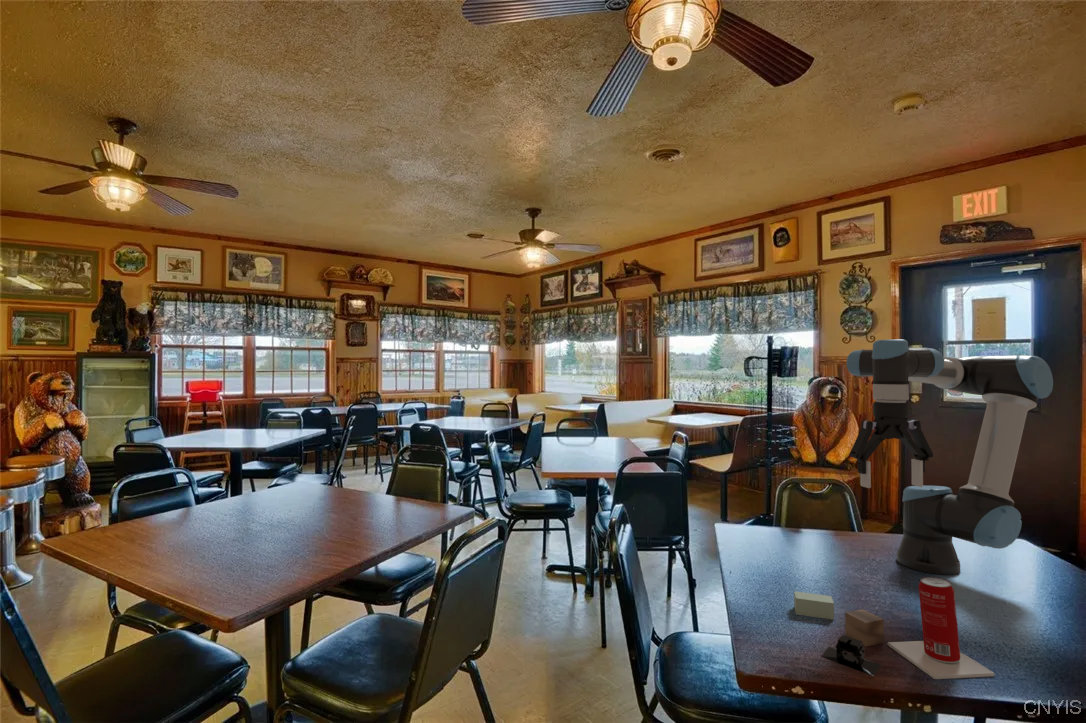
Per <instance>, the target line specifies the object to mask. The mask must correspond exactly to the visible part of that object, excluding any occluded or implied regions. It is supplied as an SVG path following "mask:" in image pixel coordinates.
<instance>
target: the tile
mask: <svg viewBox="0 0 1086 723" xmlns="http://www.w3.org/2000/svg"><path fill="white" fill-rule="evenodd" d="M887 646H889V648H891V649H893V650H894V651H895V652H896V653H897V654H899V655H901V656H902V657H903V658H904V659H906V660H907V661H908V662H910V663H912V664H913V665H915V666H916V668H918V669H920V670H921V671H923V672H924V673H925V674H927V675H928V676H929V677H931V678H932V679H934V680H943V679H944V680H946V679H947V680H949V679H964V678H965V679H966V678H968V679H969V678H985V677H988V678H989V677H995V672H993V671H992V670H990V668H987V667H986V666H984V665H983V664H981V663H979V662H977V661H976V660H974V659H973V658H971V657H969V656H967V655H966V654H965V653H963V652H961V651H960V660H959V661H958V662H956V663H944V662H939V661H936V660H934V659H932V658H930V657H929V656H928V655H927V654H926V653H925V651H924V640H914V641H911V640H910V641H891V642H890V641H888V642H887Z"/></svg>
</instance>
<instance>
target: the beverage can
mask: <svg viewBox="0 0 1086 723" xmlns="http://www.w3.org/2000/svg"><path fill="white" fill-rule="evenodd" d="M918 594H919V604H920V616H921V627H922V628H921V629H922V637H923V638H922V639H923V640H922V641H924V651H925V653H926V654H927V655H928V656H929V657H930V658H932V659H934V660H936V661H939V662H944V663H956V662H958V661H959V660H960V652H961V650H960V649H961V648H960V640H959V639H960V638H959V629H958V628H959V626H958V618H957V607H956V597H955V589H954V587H953V586H952V582H950V581H948V580H947V579H944V578H939V577H935V576H925V577H921V578H920V580H919V584H918Z"/></svg>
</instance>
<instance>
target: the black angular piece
mask: <svg viewBox="0 0 1086 723" xmlns="http://www.w3.org/2000/svg"><path fill="white" fill-rule="evenodd" d="M865 653H866V651H865V646H864V645H862V641H860V640H857V639H854V638H851V637H848V636H846V634H841V636H839V638H838V639H837V643H836V645H835V648H834V647H832V646H829V647H828V648H827V649H826V650H825V651H824V652H823V654H822V655H821V658H822V659H826V660H827V661H828V660H829V661H831V662H834V663H837V664H839V665H842V666H845V667H847V668H850V669H853V670H854V671H855V670H856V671H858V672H861V673H863V674H867V675H870V676H872V677H874V676H876V673H877V672H878V671H879V669H880V668H881V667H882V664H880V663H877V662H875V661H872V660H869V659H866V658H865Z"/></svg>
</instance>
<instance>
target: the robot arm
mask: <svg viewBox="0 0 1086 723" xmlns="http://www.w3.org/2000/svg"><path fill="white" fill-rule="evenodd" d="M846 368H847V370H848V372H849V373H850V374H851V375H852V376H856V377H872V399H873V400H875V401H873V403H872V415H873V417H874V420H873V421H870V420H865V419H864V420H861V423H860V424H861V426H860V430H859V432H858V435H857V437H856V440H855V441H854V443H853V445H852V447H851V450H850V452H849V454H848V455H849V457H850V458H853V459H855V460H857V473H858V474H860V482H859V483H860V486H861V487H863V488H867V489H872V482H871V481H872V479H871V478H872V477H871V476H872V474H871V473H872V470H871V469H872V468H871V466H872V464H871V463H872V462H871V461H870V460H869V458H870V457H871V456H872V455H873V454H874V452H875V451H876V450H877V448H878V447H879V446H880V444H881V443H882V442H884V441H885V440H886V439H887V440H892V439H896V440H900V442H901V443H902V444H903V445H904V446H905V447H906V448H907V450H908V451H909V452H910V453H911V454H912V457H913V458H911V461H910V463H911V486H910V485H909V486H906V487H905V488H904V489H903V491H902V493H903V495H902V499H901V500H902V518H903V519H902V524H903V525H902V527H903V529H902V531H903V534H902V535H903V536H902V538H901V540H900V544H899V546H898V548H897V550H896V561H897V562H898V563H899V564H900V565H903V566H905V567H907V568H910V569H913V570H916V571H919V572H924V573H929V574H934V575H935V574H936V575H956V574H959V573H960V572H961V561H960V559H959V558H958V554H957V551H956V548H955V546H954V543H953V538H956V539H959V540H963V541H966V542H969V543H973V544H976V545H978V546H980V547H988V548H992V549H998V550H999V549H1005V548H1007V547H1009V546H1010V545H1012V544H1013V543H1014V542H1015V541H1016V540H1017V538H1018V536H1019V535H1020V532H1021V530H1022V525H1023V524H1022V523H1023V522H1022V520H1021V519H1022V515H1021V512H1020V511H1019V510H1018V509H1017V508H1015V506H1014V505H1015V501H1014V500H1013V498H1012V497H1011V496H1010V495H1009V493H1010V488H1011V484H1012V480H1013V476H1014V471H1015V466H1016V464H1017V462H1016V461H1017V458H1018V456H1019V454H1018V453H1019V451H1020V450H1019V449H1020V445H1021V441H1022V437H1023V431H1024V428H1025V424H1026V419H1027V414H1028V412H1029V411H1030V410H1032V409H1035V408H1037V405H1038V402H1039V399H1047V398H1048V397H1049V396H1050V395H1051V394H1052V391H1053V388H1054V379H1053V374H1052V370H1051V368H1050V366H1049V365H1048V363H1047V362H1046V361H1045V359H1043V358H1041V356H1040V357H1039V356H1038V355H1024V354H1017V355H977V356H974V355H973V356H964V357H951V356H950V357H947V356H946V357H945V356H944V355H943V354H942V353H941V352H940V351H938V350H937V349H935V348H929V347H910V346H909V342H908V340H906V339H901V338H900V339H899V338H898V339H878V340H875V341H874V342H873V343H872V349H857V350H853V351H851V352H850V353H849V354H848V356H847V357H846ZM910 382H914V383H915V382H916V383H922V384H930V385H931V384H932V385H934V386H935V387H937V388H940V389H941V390H942V389H943V390H950V391H955V392H959V393H964V394H969V395H977V396H981V398H982V399H983V400H984V402H985V403H986V407H985V411H984V416H983V419H982V424H981V428H980V432H979V437H978V440H977V444H976V448H975V453H974V457H973V461H972V465H971V467H970V468H971V470H970V473H969V476H968V481H967V484H965V485H963V486H960V487H959V489H958V492H957V495H956V494H953V490H952V488H951V487H948V486H942V485H924V473H926V472H925V471H926V462H927V461H929V460H930V458H933V457H934V452H933V451H932V449H931V447H930V444H929V443H928V441H927V439H926V437H925V435H924V433H923V430H922V427H921V421H920V420H917V419H909V420H908V418H909V417H910V407H909V406H910V405H909V403H908V402H907V401H909V400H910V389H909V388H910V387H909V386H910V385H909V383H910ZM908 429H909V430H908ZM873 430H874V431H873ZM907 430H908V431H909V432H910V433H909V432H908V431H907ZM912 438H913V439H912Z"/></svg>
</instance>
